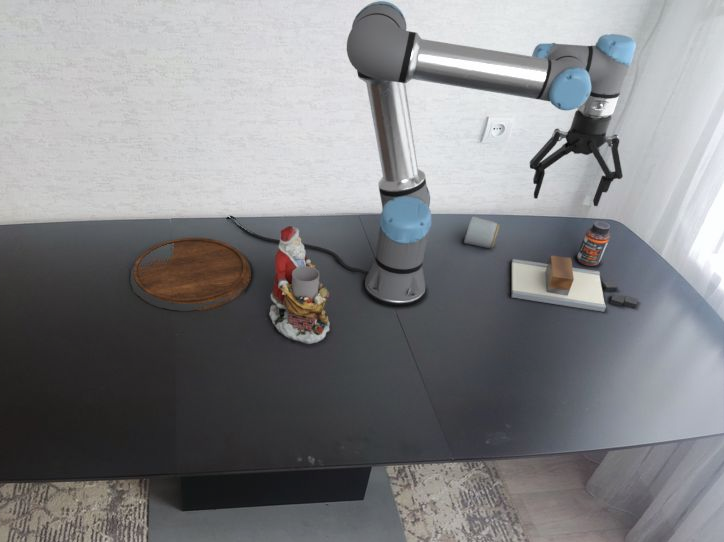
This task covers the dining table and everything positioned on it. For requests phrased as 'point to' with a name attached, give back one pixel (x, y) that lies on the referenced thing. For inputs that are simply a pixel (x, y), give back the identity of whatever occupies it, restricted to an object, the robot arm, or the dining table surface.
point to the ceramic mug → (481, 232)
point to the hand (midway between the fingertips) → (564, 199)
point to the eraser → (559, 275)
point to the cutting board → (195, 272)
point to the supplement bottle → (594, 244)
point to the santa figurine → (297, 292)
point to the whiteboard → (532, 286)
